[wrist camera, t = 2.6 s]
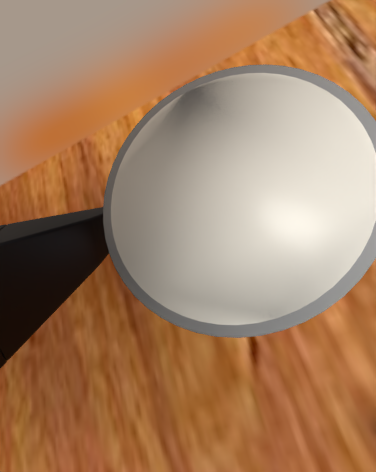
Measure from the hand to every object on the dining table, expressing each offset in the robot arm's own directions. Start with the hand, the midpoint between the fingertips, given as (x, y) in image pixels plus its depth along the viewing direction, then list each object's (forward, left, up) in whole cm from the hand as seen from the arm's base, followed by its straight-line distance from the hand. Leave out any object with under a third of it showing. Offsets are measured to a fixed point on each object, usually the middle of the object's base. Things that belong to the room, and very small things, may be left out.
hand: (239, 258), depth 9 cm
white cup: (+1, 0, -8) cm, 9 cm away
